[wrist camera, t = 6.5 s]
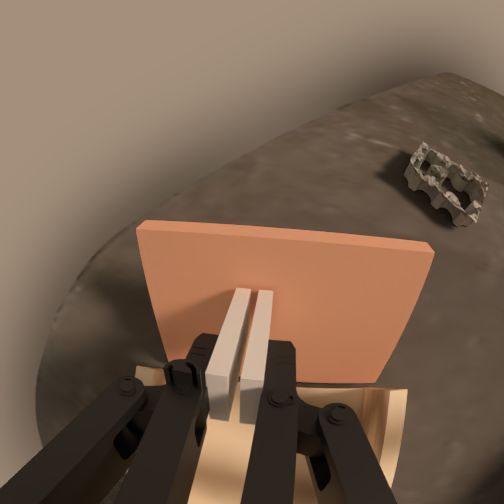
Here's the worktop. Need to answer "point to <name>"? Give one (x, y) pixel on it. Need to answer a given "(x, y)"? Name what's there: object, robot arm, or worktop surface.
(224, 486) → the wooden open box
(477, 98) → the worktop surface
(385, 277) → the panel
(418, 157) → the egg carton
